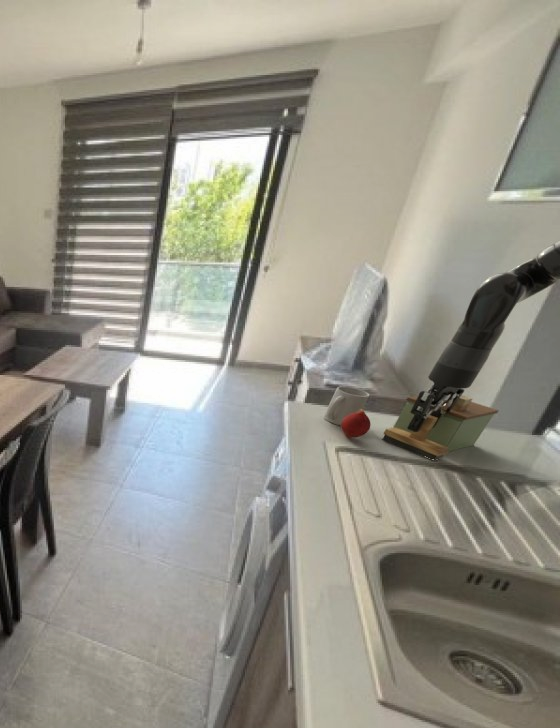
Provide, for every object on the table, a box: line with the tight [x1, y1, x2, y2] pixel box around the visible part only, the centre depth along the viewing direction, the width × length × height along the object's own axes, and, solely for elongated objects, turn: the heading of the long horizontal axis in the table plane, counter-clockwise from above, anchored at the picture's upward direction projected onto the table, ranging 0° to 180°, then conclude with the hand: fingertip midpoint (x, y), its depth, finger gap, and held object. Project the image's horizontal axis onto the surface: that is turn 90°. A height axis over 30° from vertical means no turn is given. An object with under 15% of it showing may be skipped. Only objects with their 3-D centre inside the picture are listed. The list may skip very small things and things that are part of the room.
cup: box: [323, 385, 370, 426], centre depth 131 cm, size 7×10×9 cm
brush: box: [382, 415, 450, 461], centre depth 118 cm, size 12×4×9 cm, turn 22°
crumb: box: [452, 394, 473, 411], centre depth 118 cm, size 3×3×3 cm
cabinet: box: [393, 394, 499, 452], centre depth 124 cm, size 13×15×10 cm
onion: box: [340, 409, 372, 439], centre depth 122 cm, size 6×6×8 cm
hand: (420, 428), depth 118 cm, fingers open, 5 cm apart
